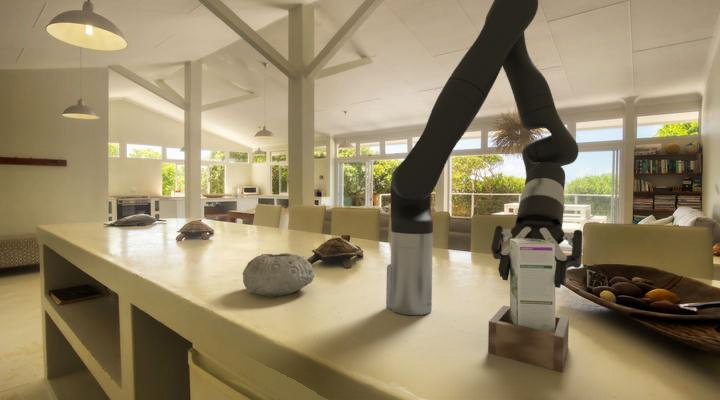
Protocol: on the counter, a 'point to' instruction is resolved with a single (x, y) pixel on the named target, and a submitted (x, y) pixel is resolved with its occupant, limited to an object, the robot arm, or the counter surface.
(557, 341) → the walnut collar
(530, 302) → the syrup box
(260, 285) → the grey carved stone
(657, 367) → the counter surface
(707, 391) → the counter surface
